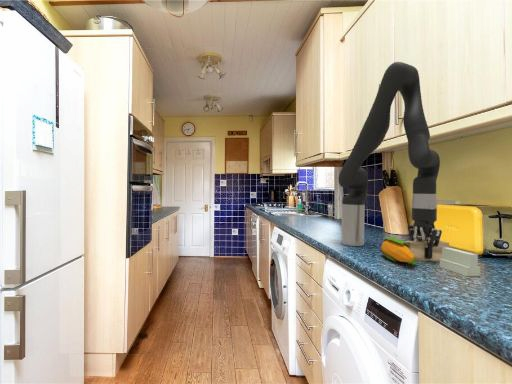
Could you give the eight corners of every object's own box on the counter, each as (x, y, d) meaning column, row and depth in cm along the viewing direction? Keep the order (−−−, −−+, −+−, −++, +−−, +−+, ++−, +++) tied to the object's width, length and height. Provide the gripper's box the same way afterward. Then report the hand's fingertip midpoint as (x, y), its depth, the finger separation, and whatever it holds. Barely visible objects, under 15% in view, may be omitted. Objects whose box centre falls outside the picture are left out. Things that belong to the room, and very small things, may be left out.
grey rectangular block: (439, 266, 92) (439, 247, 92) (451, 266, 92) (451, 247, 92) (467, 276, 82) (467, 254, 82) (479, 276, 82) (480, 254, 82)
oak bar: (402, 258, 103) (403, 240, 103) (440, 257, 104) (440, 240, 104) (410, 260, 99) (410, 243, 99) (448, 260, 100) (449, 242, 100)
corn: (396, 234, 108) (426, 244, 88) (397, 255, 108) (427, 269, 88) (376, 235, 108) (400, 245, 88) (377, 255, 108) (401, 270, 88)
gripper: (400, 206, 108) (400, 253, 108) (429, 208, 94) (428, 262, 94) (419, 206, 109) (418, 252, 109) (450, 208, 95) (449, 261, 95)
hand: (423, 256), depth 101 cm, fingers closed on oak bar, 4 cm apart
